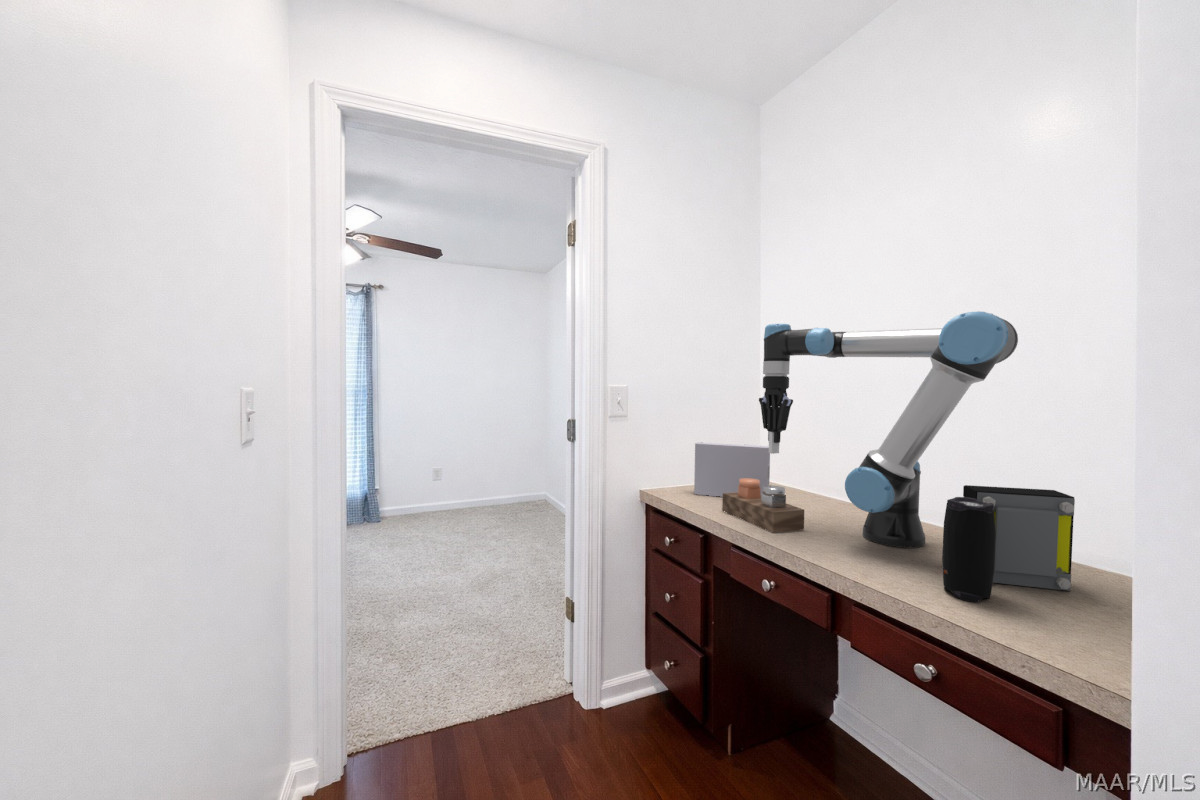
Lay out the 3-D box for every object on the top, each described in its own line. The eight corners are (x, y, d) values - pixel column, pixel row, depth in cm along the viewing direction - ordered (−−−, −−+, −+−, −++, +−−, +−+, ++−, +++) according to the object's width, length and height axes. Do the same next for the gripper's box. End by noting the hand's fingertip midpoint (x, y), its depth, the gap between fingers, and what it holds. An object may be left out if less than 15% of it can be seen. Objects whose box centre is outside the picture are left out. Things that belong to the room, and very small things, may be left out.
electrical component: (976, 584, 107) (980, 493, 107) (957, 567, 117) (961, 483, 117) (1076, 595, 102) (1081, 499, 102) (1048, 576, 112) (1052, 489, 111)
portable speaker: (946, 599, 100) (949, 503, 99) (937, 582, 108) (940, 494, 107) (999, 608, 96) (1002, 508, 95) (986, 590, 104) (989, 498, 104)
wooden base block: (803, 529, 146) (804, 509, 146) (773, 533, 143) (773, 512, 142) (749, 508, 171) (750, 491, 171) (722, 510, 167) (722, 493, 167)
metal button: (789, 508, 149) (789, 489, 149) (771, 509, 147) (772, 490, 147) (774, 503, 155) (775, 484, 155) (757, 504, 153) (758, 486, 153)
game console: (696, 491, 196) (697, 441, 196) (769, 498, 186) (770, 445, 185) (693, 494, 191) (694, 443, 190) (768, 501, 181) (769, 447, 180)
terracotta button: (763, 499, 160) (763, 481, 160) (746, 500, 158) (747, 482, 158) (751, 494, 166) (751, 477, 166) (735, 496, 164) (735, 478, 164)
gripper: (801, 375, 145) (798, 455, 146) (772, 375, 157) (769, 449, 158) (780, 375, 142) (778, 456, 143) (752, 375, 154) (750, 450, 155)
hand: (773, 453), depth 151 cm, fingers closed
